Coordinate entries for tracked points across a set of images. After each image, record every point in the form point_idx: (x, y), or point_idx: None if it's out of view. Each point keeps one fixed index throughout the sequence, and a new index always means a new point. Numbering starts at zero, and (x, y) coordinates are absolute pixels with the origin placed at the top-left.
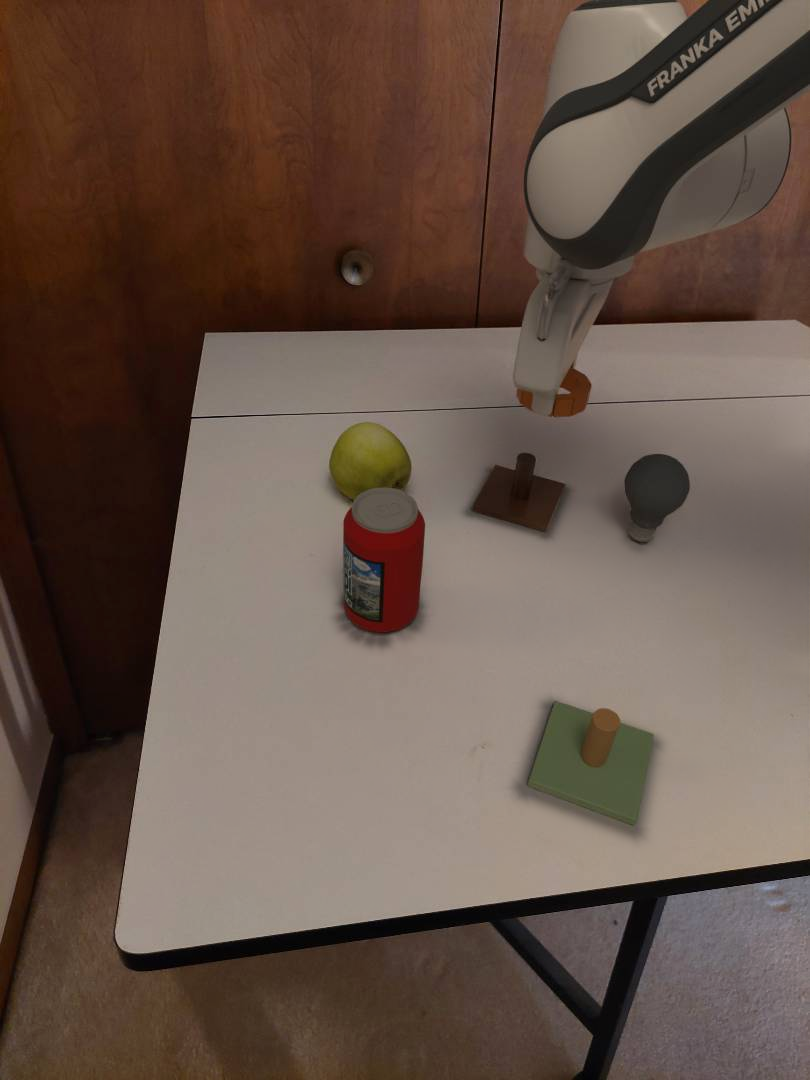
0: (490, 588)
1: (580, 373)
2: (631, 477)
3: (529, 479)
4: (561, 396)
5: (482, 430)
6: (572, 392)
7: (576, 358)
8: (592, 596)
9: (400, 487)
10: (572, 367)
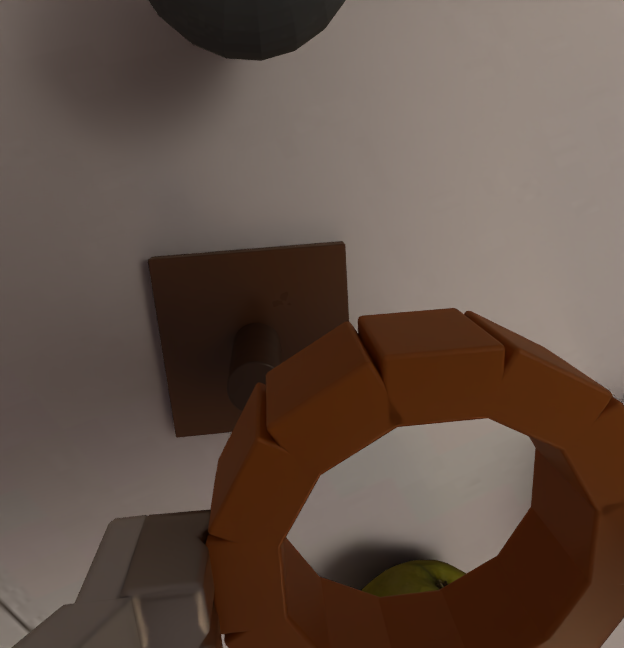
0: (565, 284)
1: (259, 472)
2: (308, 20)
3: (271, 346)
4: (613, 474)
5: (37, 514)
6: (538, 435)
7: (118, 571)
8: (509, 68)
9: (427, 570)
10: (199, 539)
